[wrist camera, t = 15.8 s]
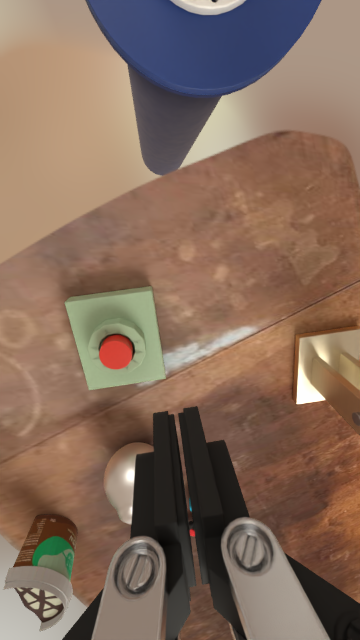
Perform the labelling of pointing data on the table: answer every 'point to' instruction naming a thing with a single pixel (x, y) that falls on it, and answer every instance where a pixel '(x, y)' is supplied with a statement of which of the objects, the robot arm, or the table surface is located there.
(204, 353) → the table surface
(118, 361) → the button
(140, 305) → the button block
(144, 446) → the silver rounded figure
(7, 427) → the table surface
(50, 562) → the food container
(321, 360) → the bracket
